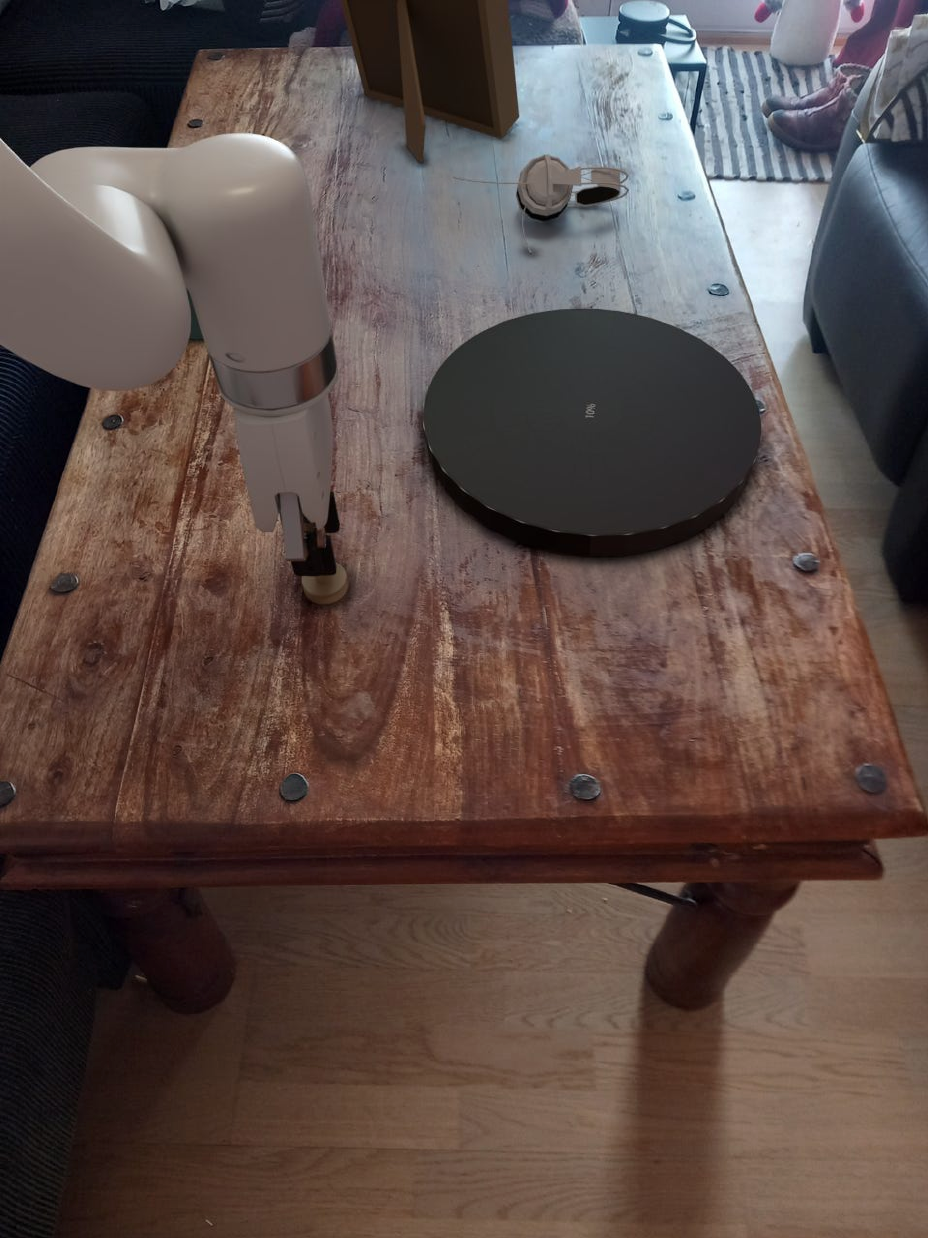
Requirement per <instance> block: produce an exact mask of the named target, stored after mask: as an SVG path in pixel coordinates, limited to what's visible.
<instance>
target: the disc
mask: <svg viewBox="0 0 928 1238" xmlns="http://www.w3.org/2000/svg"><path fill="white" fill-rule="evenodd" d="M422 406H423V408H422V409H423V410H422V413H423V416H422V417H423V419H422V420H423V423H422V424H423V429H424V433H425V444H426V445H425V446H426V447H425V449H426V451H427V455H428V458H429V462H430V465H431V469H432V472H433V473H434V475H435V477H436V479H437V480H438V481H439V483H440V485H441V487H442V488H443V490H444V491H445V493H446V494H447V495H448V496H449V497H450V498H451V499H452V500H453V501H454V502H455V503H456V504H457V505H458V506H459V508H461V509H462V510H463V511H464V512H465V513H466V514H467V515H469V516H470V517H471V518H473V519H474V520H476V521H477V522H479V523H481V524H482V525H483V526H484V527H486V528H488V529H489V530H491V531H493V532H495V533H497V534H500V535H502V536H503V537H506V538H508V539H510V540H512V541H514V542H517V543H519V544H522V545H525V546H526V545H527V546H530V547H533V548H537V549H541V550H543V551H548V552H551V553H557V554H563V555H564V554H565V555H573V556H582V557H587V558H588V557H622V556H623V557H625V556H629V555H634V554H640V553H641V554H642V553H646V552H651V551H656V550H661V549H663V548H665V547H668V546H671V545H674V544H677V543H679V542H682V541H685V540H687V539H690V538H691V537H693V536H695V535H696V534H698V533H700V532H701V531H703V530H704V529H706V528H708V527H710V526H712V525H713V524H715V523H716V522H717V521H718V520H719V519H720V518H721V517H722V516H723V515H725V513H727V511H728V510H730V509H731V508H732V507H733V506H734V505H735V503H736V502H737V500H738V498H739V497H740V496H741V493H742V492H743V491H744V489H745V487H746V486H747V484H748V482H749V478H750V475H751V471H752V469H753V465H754V463H755V462H756V459H757V456H758V451H759V448H760V445H761V441H762V415H761V413H760V409H759V406H758V403H757V399H756V396H755V394H754V392H753V390H752V389H751V386H750V385H749V384H748V382H747V380H746V379H745V377H744V376H743V374H742V373H741V371H739V370H738V368H736V366H734V365H733V364H732V363H731V362H730V360H729V359H728V358H727V357H726V356H725V355H724V354H722V353H721V352H720V351H718V350H717V349H716V348H714V347H713V346H712V345H710V344H708V343H707V342H706V341H704V340H703V339H701V338H699V337H697V336H695V335H693V334H691V333H689V332H688V331H685V330H683V329H682V328H680V327H677V326H675V325H672V324H669V323H667V322H664V321H661V320H658V319H656V318H652V317H649V316H645V315H639V314H636V313H632V312H625V311H621V310H612V309H601V308H589V307H587V308H585V307H584V308H583V307H582V308H558V309H553V310H546V311H539V312H534V313H533V312H532V313H528V314H524V315H522V316H517V317H514V318H511V319H507V320H505V321H504V320H503V321H502V322H499V323H497V324H495V325H492V326H491V327H488V328H486V329H484V330H482V331H479V332H478V333H476V334H475V335H473V336H472V337H471V338H469V339H468V340H466V341H465V342H463V343H462V344H460V345H458V346H457V347H456V349H455V350H453V351H452V352H451V353H450V355H449V356H447V358H446V359H445V360H443V362H441V363H440V365H439V367H438V369H437V370H436V372H435V374H434V375H433V377H432V379H431V380H430V382H429V383H428V388H427V390H426V394H425V397H424V401H423V403H422Z"/></svg>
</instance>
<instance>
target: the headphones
mask: <svg viewBox="0 0 928 1238" xmlns="http://www.w3.org/2000/svg"><path fill="white" fill-rule="evenodd" d="M583 170H585V171H586V170H591V171H590V172H587V173H583V174H582V171H583ZM621 173H622V174H623V175H625V178H624V179H622V180H621ZM589 174H590V179H589V178H587V177H583V176H585V175H589ZM452 178H453V179H456V180H461V181H467V182H473V183H481V184H499V185H517V186H516V193H515V198H516V201H517V205H518V208H519V210H520V211H521V212H522V217H521V228H522V229H521V230H522V234H523V239H524V242H525V244H526V246H527V247H526V248H527V250H528V253H529V254H532V253H533V251H532V249H531V248H530V247H529V244H528V242H527V239H526V234H525V231H524V215H525V216H526V217H527V218H528V219H529V220H532V221H536V222H539V223H545V222H548V221H551V220H555V219H558V218H559V217H560V215H562V213H563V212H564V211H565V210H566V209H567V208H578V207H591V206H597V205H602V204H606V203H610V202H614V201H616V200H619V199H622V198H624V197H625V196H627V195H628V193H629V191H630V189H629V188H628V186H626V185H625V184H623V183H625V182H626V181H627V180H628V179H629V174H628V173H627V172H626V171H625V170H623V169H620V168H616V167H610V166H609V167H608V166H590V167H589V166H588V167H582V166H578V167H574V168H571V169H570V167H569V165H568V166H567V164H565V162H564V161H563V160H562V159H560V158H559V157H558V156H553V155H550V154H543V155H540V156H537V157H534V158H532V159H531V160H529V161H528V162H527V164H526V165H525V166H524V167H523V169H522V170H521V171H520V172H519V177H518V181H517V182H502V181H485V180H475V179H467V178H461V177H457V176H453V177H452ZM582 179H585V180H587V181H588V182H587V181H586V182H582ZM583 185H595V186H589V187H583V188H581V189H580V190H573V188H574V186H577V187H582V186H583ZM621 188H624V189H625V190H626V191H625V192H624V193H623V194H622V195H621V190H622V189H621ZM572 196H574V200H571V199H572V198H571V197H572ZM569 202H571V203H572V202H573V203H575V204H569Z"/></svg>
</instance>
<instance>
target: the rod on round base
mask: <svg viewBox="0 0 928 1238" xmlns="http://www.w3.org/2000/svg"><path fill="white" fill-rule="evenodd" d="M304 531H314V527H313V523H304ZM336 566H337V569H336V574H335V575H327V576H313V577H310V576H301V585H302V589H303V592H304V595H305V596H306V598H307V599H308V600H309V601H311V602H312V603H315V604H318V605H331V604H333V603H336V602H338V601H340V600H341V599H343V597H344V596H345V595H346V594H347V592H348V589H349V581H348V580H349V579H348V575H347V571H346V569H345V568H344V567H343V565H341V564H340V563H338V562H336Z"/></svg>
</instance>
